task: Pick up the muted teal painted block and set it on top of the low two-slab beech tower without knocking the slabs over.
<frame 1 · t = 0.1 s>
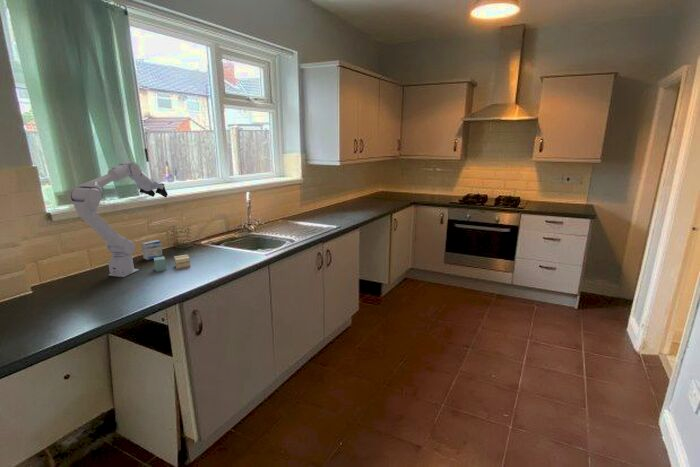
hand: (160, 195, 190), 32 cm above the worktop, tool tilted 50°, fingers open, 7 cm apart
lower slab: (182, 266, 181), on the worktop, touching upper slab
medicine box: (153, 258, 194), on the worktop
teal block: (160, 269, 177), on the worktop
upper slab: (182, 262, 180), point 2 cm above the worktop, touching lower slab
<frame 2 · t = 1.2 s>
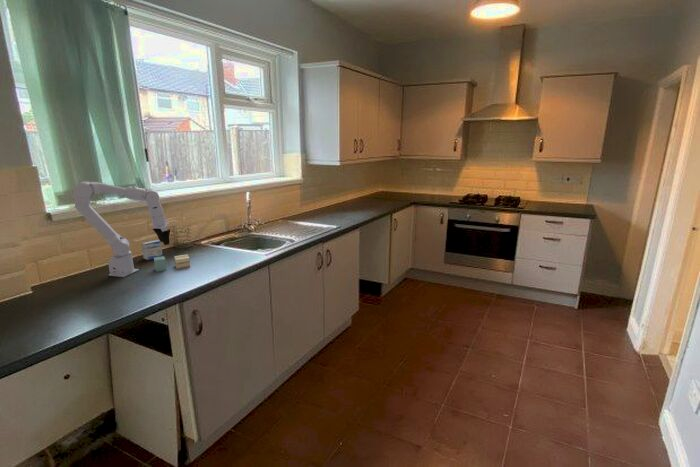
hand: (165, 242, 177), 12 cm above the worktop, tool pointing down, fingers open, 7 cm apart
nothing on the worktop moved.
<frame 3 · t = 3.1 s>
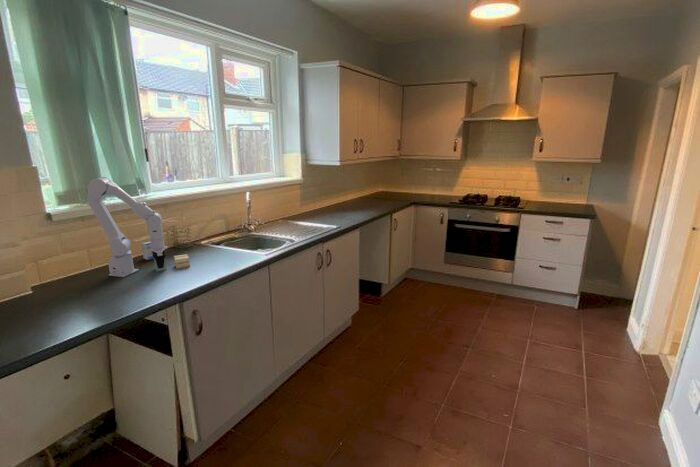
hand: (160, 266, 176), 1 cm above the worktop, tool pointing down, fingers closed on teal block, 4 cm apart
lower slab: (182, 266, 181), on the worktop
teal block: (160, 269, 177), on the worktop, touching gripper
upper slab: (181, 261, 180), point 2 cm above the worktop
everything else where it was.
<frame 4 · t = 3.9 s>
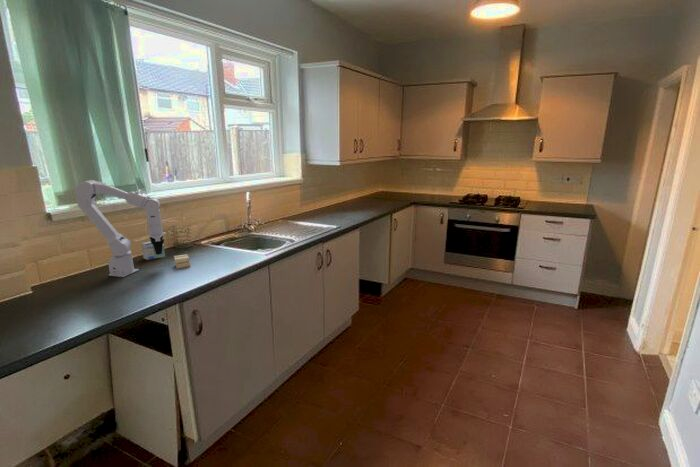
hand: (158, 252, 174), 8 cm above the worktop, tool pointing down, fingers closed on teal block, 4 cm apart
lower slab: (182, 266, 181), on the worktop, touching upper slab
teal block: (159, 256, 175), point 6 cm above the worktop, touching gripper
upper slab: (181, 261, 181), point 2 cm above the worktop, touching lower slab
everything else where it was.
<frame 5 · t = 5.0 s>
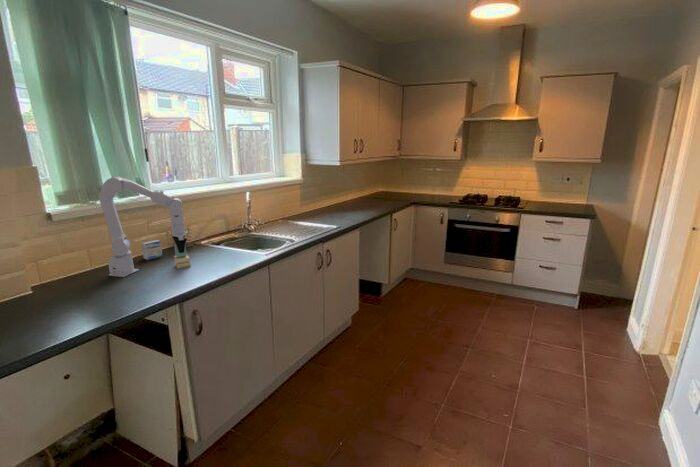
hand: (180, 251, 179), 7 cm above the worktop, tool pointing down, fingers closed on teal block, 4 cm apart
teal block: (181, 255, 180), point 6 cm above the worktop, touching gripper
everything else where it was.
when the fingers open (7 cm above the worktop, at t = 5.4 s): teal block drops 1 cm, resting on upper slab.
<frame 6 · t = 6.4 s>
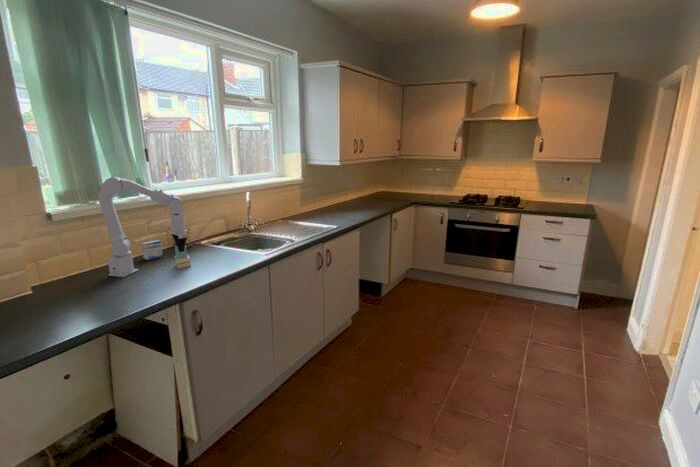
hand: (180, 249, 179), 8 cm above the worktop, tool pointing down, fingers open, 7 cm apart
teal block: (181, 257, 180), point 4 cm above the worktop, touching upper slab
upper slab: (182, 262, 181), point 2 cm above the worktop, touching lower slab, teal block
everything else where it was.
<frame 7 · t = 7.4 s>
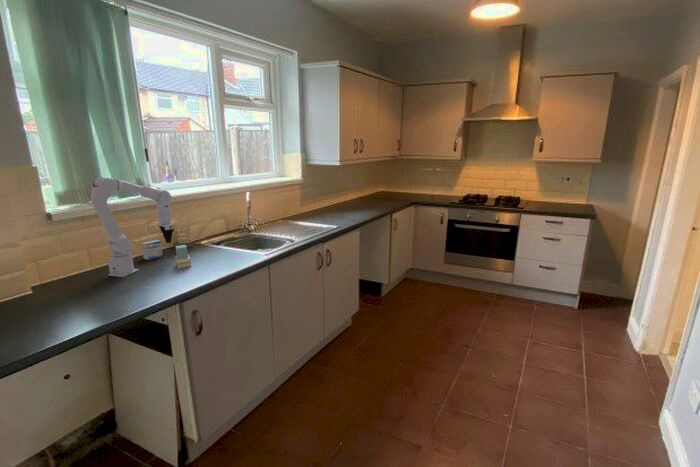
hand: (167, 240, 186), 10 cm above the worktop, tool pointing down, fingers open, 7 cm apart
nothing on the worktop moved.
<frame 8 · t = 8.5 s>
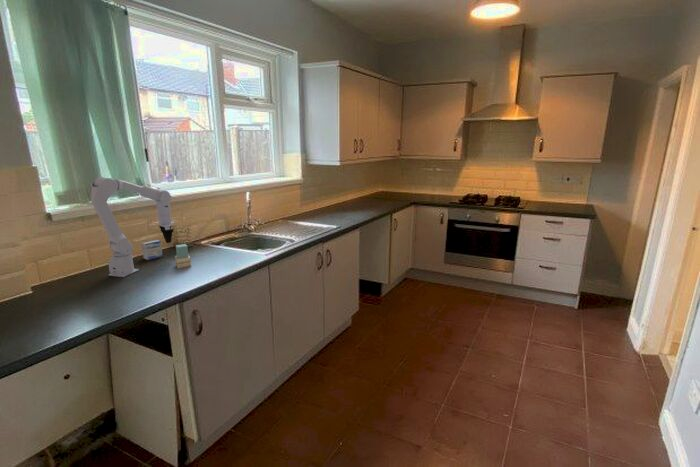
hand: (167, 240, 186), 10 cm above the worktop, tool pointing down, fingers open, 7 cm apart
teal block: (182, 256, 180), point 5 cm above the worktop
upper slab: (183, 261, 181), point 2 cm above the worktop, touching lower slab
everything else where it was.
at the end: teal block 0.1 cm off-centre on the upper slab, point 2.5 cm above the upper slab's base; teal block tilted 1°; upper slab moved 0.7 cm from its start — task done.
